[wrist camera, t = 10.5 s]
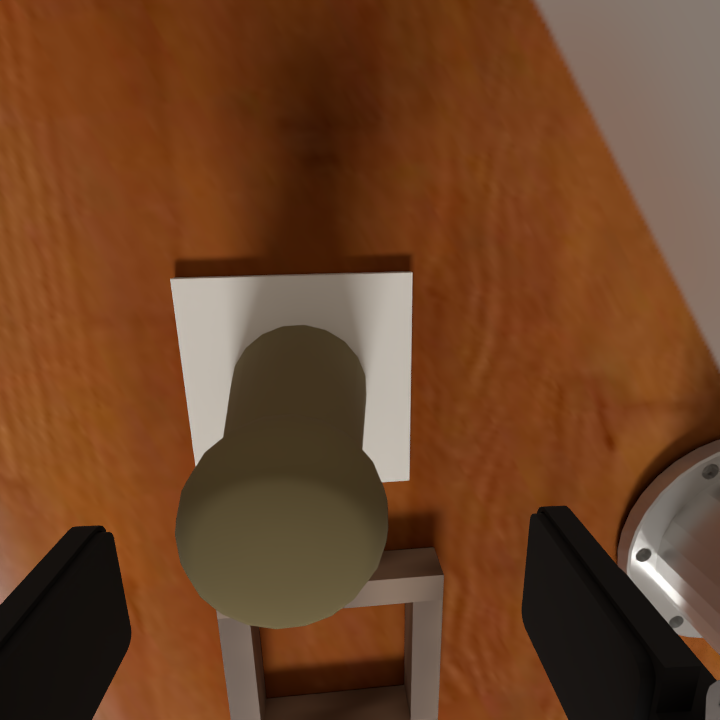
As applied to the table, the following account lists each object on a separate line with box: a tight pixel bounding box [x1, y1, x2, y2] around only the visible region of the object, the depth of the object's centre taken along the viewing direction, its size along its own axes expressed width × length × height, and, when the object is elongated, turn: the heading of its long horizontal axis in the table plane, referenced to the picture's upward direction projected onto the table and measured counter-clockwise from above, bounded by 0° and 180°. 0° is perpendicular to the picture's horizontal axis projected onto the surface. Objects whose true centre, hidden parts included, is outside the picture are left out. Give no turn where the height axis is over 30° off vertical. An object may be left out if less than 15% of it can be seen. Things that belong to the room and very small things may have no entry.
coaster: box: [170, 271, 412, 482], centre depth 21 cm, size 10×10×1 cm
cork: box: [175, 325, 388, 629], centre depth 15 cm, size 6×6×11 cm
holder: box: [216, 547, 444, 720], centre depth 24 cm, size 11×11×2 cm
